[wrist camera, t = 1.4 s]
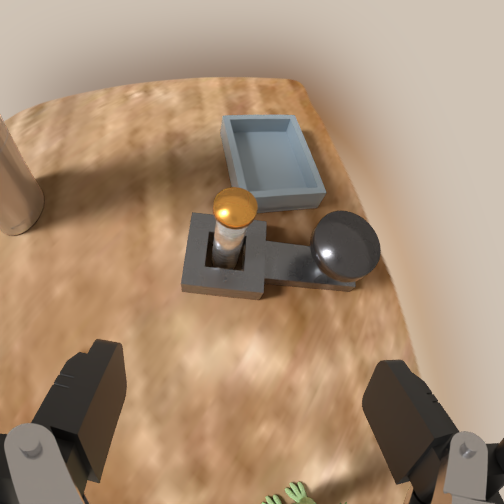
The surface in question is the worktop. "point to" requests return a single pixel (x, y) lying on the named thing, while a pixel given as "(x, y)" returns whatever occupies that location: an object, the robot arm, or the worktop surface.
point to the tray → (271, 161)
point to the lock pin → (231, 225)
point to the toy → (293, 495)
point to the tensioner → (283, 258)
